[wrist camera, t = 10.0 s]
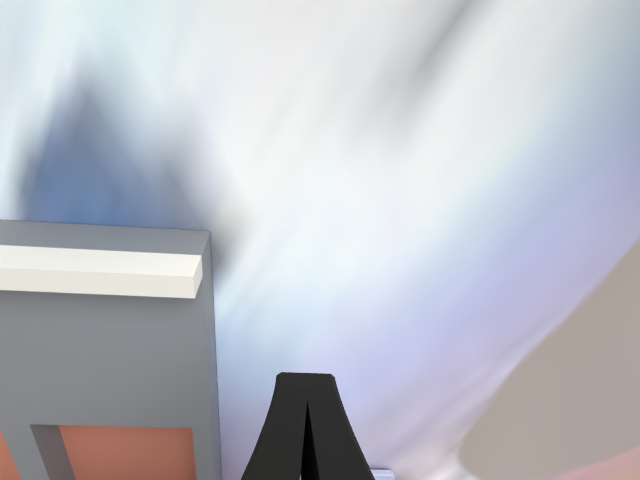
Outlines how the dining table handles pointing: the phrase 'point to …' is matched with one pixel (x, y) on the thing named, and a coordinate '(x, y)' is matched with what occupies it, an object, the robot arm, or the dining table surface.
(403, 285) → the dining table surface
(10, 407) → the board
